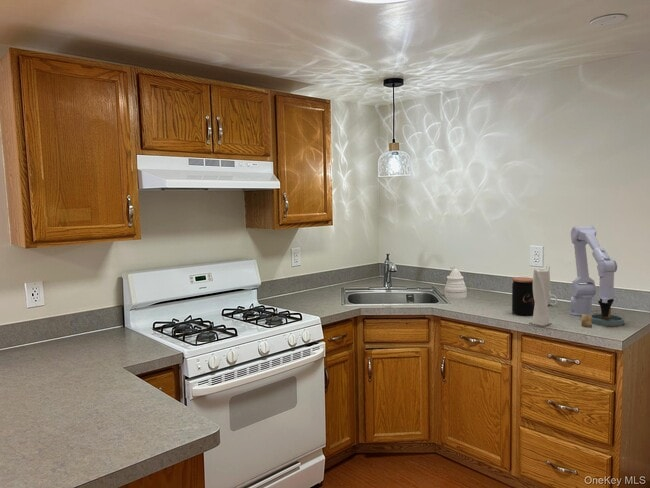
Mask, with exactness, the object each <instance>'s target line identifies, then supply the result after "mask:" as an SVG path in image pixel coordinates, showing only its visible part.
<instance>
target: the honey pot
mask: <svg viewBox="0 0 650 488" xmlns="http://www.w3.org/2000/svg"><path fill="white" fill-rule="evenodd" d="M449 268H450V270H451V272H450V274H449V275H447V276H446V279H447V280H446V283H445V286H444V297H445V298H447V299H465V298H467V296H468V295H467V293H468V290H467V286H466V282H465V281H464V278H465V277H464V276H463V275H462V273H461V272H460V271H459V269H458V268H455V266H452V265H451V266H449Z"/></svg>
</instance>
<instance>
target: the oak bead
mask: <svg viewBox="0 0 650 488" xmlns="http://www.w3.org/2000/svg"><path fill="white" fill-rule="evenodd" d="M591 319H592V316H591V315H588V314H582V316H581V323H580V324H581V325H580V326H581V327H583V328H592V323H591Z"/></svg>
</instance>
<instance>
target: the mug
mask: <svg viewBox="0 0 650 488" xmlns="http://www.w3.org/2000/svg"><path fill="white" fill-rule="evenodd" d="M552 297H554V298H555V302H554V303H552V302H551V301H552ZM557 303H558V297H557V296H556V295H555V294H552V293H551V291H550V292H549V297H548V301H547V306H549V305H551V306H554V305H557Z"/></svg>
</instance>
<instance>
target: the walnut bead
mask: <svg viewBox="0 0 650 488" xmlns="http://www.w3.org/2000/svg"><path fill="white" fill-rule="evenodd" d="M600 314H601V319H606V320H609V319H611V315H612V307H611V308H610V310H609V315H608V317H604V316H602V311H601V310H600Z"/></svg>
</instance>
